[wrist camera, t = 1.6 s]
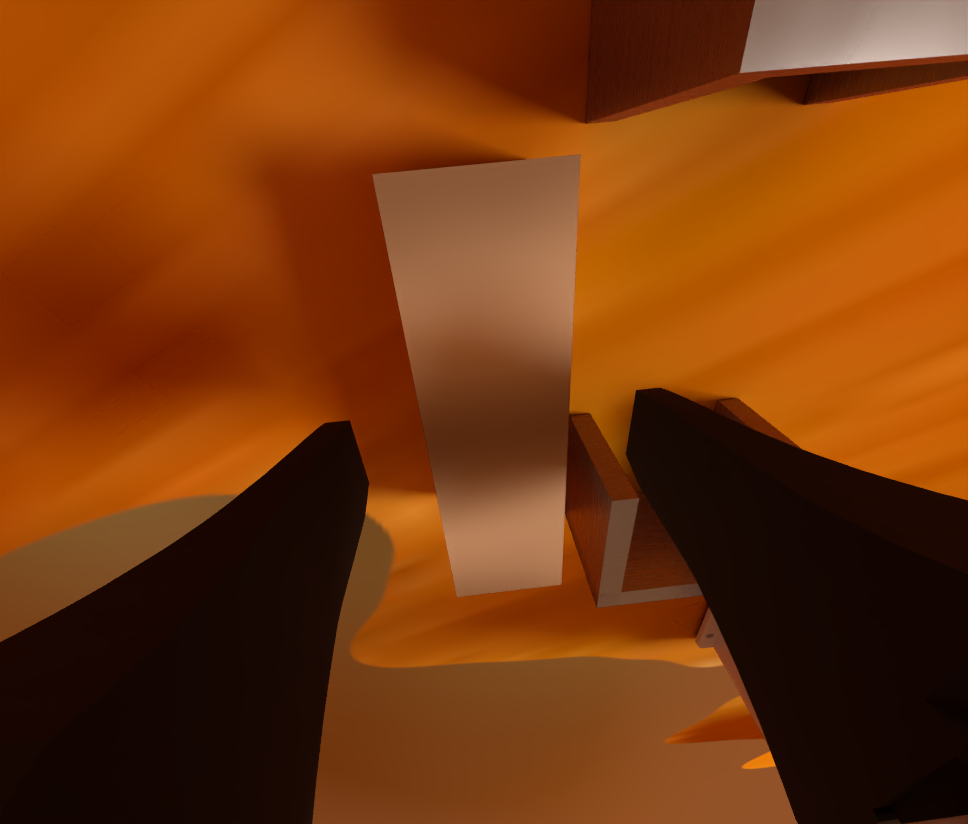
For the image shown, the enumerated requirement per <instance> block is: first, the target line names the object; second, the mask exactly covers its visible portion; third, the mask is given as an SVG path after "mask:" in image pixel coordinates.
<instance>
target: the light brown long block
mask: <svg viewBox="0 0 968 824" xmlns="http://www.w3.org/2000/svg"><path fill="white" fill-rule="evenodd" d="M579 174H580V154H579V155H568V156H558V157H547V158H537V159H527V160H516V161H506V162H495V163H485V164H474V165H464V166H453V167H443V168H432V169H422V170H412V171H401V172H391V173H380V174H372V176H373V181H374V186H375V191H376V196H377V201H378V206H379V211H380V216H381V221H382V226H383V231H384V236H385V241H386V246H387V251H388V256H389V261H390V266H391V271H392V276H393V281H394V286H395V291H396V296H397V301H398V306H399V311H400V316H401V321H402V326H403V331H404V336H405V341H406V345H407V350H408V355H409V360H410V365H411V370H412V375H413V380H414V385H415V390H416V395H417V400H418V405H419V410H420V415H421V420H422V425H423V430H424V435H425V440H426V445H427V450H428V455H429V460H430V465H431V470H432V475H433V480H434V485H435V490H436V495H437V500H438V505H439V510H440V515H441V520H442V525H443V530H444V535H445V540H446V545H447V550H448V555H449V560H450V565H451V569H452V574H453V579H454V584H455V589H456V594H457V597H462V596H470V595H479V594H487V593H496V592H504V591H512V590H521V589H529V588H538V587H546V586H554V585H561V584H562V561H563V539H564V516H565V493H566V470H567V447H568V425H569V402H570V379H571V356H572V333H573V311H574V288H575V265H576V242H577V220H578V197H579Z"/></svg>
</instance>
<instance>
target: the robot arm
mask: <svg viewBox="0 0 968 824" xmlns="http://www.w3.org/2000/svg"><path fill="white" fill-rule="evenodd" d="M626 455H627V458H628V460H629V463H630V465H631V467H632V470H633V472H634V475H635V477H636V479H637V481H638V483H639V486H640V488H641V489H642V491H643V493H644V495H645V496H646V498H647V500H648V501H649V503H650V505H651V506H652V508H653V509H654V511H655V513H656V514H657V516H658V518H659V519H660V521H661V523H662V524H663V526H664V527H665V529H666V531H667V532H668V534H669V536H670V537H671V539H672V540H673V542H674V544H675V545H676V547H677V549H678V550H679V552H680V553H681V555H682V557H683V558H684V560H685V562H686V563H687V565H688V567H689V569H690V570H691V572H692V574H693V576H694V578H695V579H696V581H697V583H698V586H699V588H700V590H701V592H702V594H703V596H704V598H705V600H706V602H707V604H708V606H709V608H708V610H707V613H706V615H705V618H704V620H703V623H702V625H701V627H700V630H699V632H698V635H697V637H696V640H695V641H696V643H697V645H698V646H699V647H700V648H709V647H714V649H715V650H716V652H717V654H718V656H719V658H720V659H721V661H722V663H723V665H724V667H725V668H726V670H727V672H728V674H729V675H730V677H731V679H732V681H733V683H734V685H735V686H736V688H737V690H738V692H739V694H740V695H741V697H742V699H743V701H744V703H745V705H746V706H747V708H748V710H749V712H750V714H751V715H752V717H753V719H754V721H755V723H756V724H757V726H758V728H759V730H760V732H761V733H762V735H763V737H764V739H765V741H766V742H767V744H768V746H769V749H770V751H771V754H772V757H773V759H774V762H775V764H776V767H777V770H778V772H779V775H780V777H781V780H782V783H783V785H784V788H785V791H786V794H787V797H788V799H789V802H790V805H791V808H792V810H793V813H794V816H795V819H796V821H797V823H798V824H968V500H964V499H961V498H957V497H953V496H949V495H945V494H941V493H937V492H934V491H930V490H927V489H923V488H920V487H916V486H913V485H909V484H906V483H902V482H899V481H895V480H892V479H888V478H885V477H882V476H878V475H875V474H872V473H869V472H865V471H862V470H859V469H856V468H853V467H850V466H848V465H845V464H842V463H839V462H836V461H833V460H830V459H827V458H824V457H821V456H819V455H816V454H813V453H810V452H808V451H805V450H802V449H800V448H797V447H795V446H792V445H790V444H787V443H785V442H783V441H780V440H778V439H775V438H773V437H770V436H768V435H766V434H763V433H761V432H759V431H756V430H754V429H752V428H749V427H747V426H745V425H743V424H740V423H738V422H736V421H734V420H732V419H730V418H727V417H725V416H723V415H721V414H719V413H717V412H714V411H712V410H710V409H708V408H706V407H704V406H702V405H700V404H697V403H695V402H693V401H691V400H689V399H687V398H684V397H682V396H680V395H678V394H675V393H673V392H670V391H668V390H665V389H662V388H652V389H643V390H636V394H635V400H634V406H633V413H632V419H631V425H630V432H629V438H628V444H627V451H626ZM368 487H369V481H368V478H367V474H366V471H365V468H364V465H363V462H362V458H361V455H360V452H359V449H358V446H357V443H356V439H355V436H354V433H353V430H352V427H351V423H350V420H349V421H339V422H330V423H324V424H323V425H322V426H320V427H319V428H318V429H316V430H315V431H314V432H313V433H312V434H310V435H309V436H308V437H307V438H306V439H305V440H304V441H302V442H301V443H300V444H299V445H298V446H297V447H296V448H294V449H293V450H292V451H291V452H290V453H289V454H288V455H286V456H285V457H284V458H283V459H282V460H281V461H280V462H278V463H277V464H276V465H275V466H274V467H273V468H271V469H270V470H269V471H268V472H267V473H266V474H265V475H263V476H262V477H261V478H260V479H258V480H257V481H256V482H255V483H253V484H252V485H251V486H250V487H248V488H247V489H246V490H245V491H243V492H242V493H241V494H240V495H238V496H237V497H236V498H235V499H234V500H232V501H231V502H230V503H229V504H227V505H226V506H225V507H223V508H222V509H221V510H219V511H218V512H217V513H215V514H214V515H213V516H211V517H210V518H209V519H207V520H206V521H204V522H203V523H202V524H200V525H199V526H197V527H196V528H194V529H193V530H191V531H190V532H189V533H187V534H186V535H184V536H183V537H181V538H180V539H178V540H177V541H176V542H174V543H172V544H171V545H169V546H168V547H166V548H165V549H163V550H162V551H160V552H158V553H157V554H155V555H154V556H152V557H150V558H149V559H147V560H145V561H144V562H142V563H140V564H139V565H137V566H136V567H134V568H132V569H131V570H129V571H128V572H126V573H124V574H123V575H121V576H119V577H118V578H116V579H114V580H113V581H111V582H110V583H108V584H107V585H105V586H103V587H101V588H99V589H98V590H96V591H94V592H92V593H91V594H89V595H87V596H85V597H84V598H82V599H80V600H78V601H76V602H75V603H73V604H71V605H69V606H67V607H66V608H64V609H62V610H60V611H58V612H57V613H55V614H53V615H51V616H49V617H47V618H45V619H43V620H42V621H40V622H38V623H36V624H34V625H32V626H30V627H28V628H27V629H25V630H23V631H21V632H19V633H17V634H16V635H13V636H11V637H10V638H7V639H5V640H4V641H2V642H0V824H312V820H313V808H314V799H315V788H316V778H317V770H318V761H319V752H320V744H321V736H322V727H323V719H324V712H325V704H326V697H327V690H328V683H329V676H330V669H331V662H332V656H333V650H334V644H335V638H336V631H337V625H338V620H339V615H340V611H341V607H342V602H343V598H344V595H345V591H346V587H347V583H348V579H349V576H350V572H351V568H352V565H353V561H354V557H355V554H356V550H357V546H358V542H359V538H360V535H361V531H362V527H363V522H364V519H365V512H366V504H367V496H368Z"/></svg>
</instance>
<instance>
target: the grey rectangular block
mask: <svg viewBox="0 0 968 824" xmlns="http://www.w3.org/2000/svg"><path fill="white" fill-rule="evenodd" d="M803 74H813V75H812V78H811V82H810V85H809V88H808V92H807V95H806V99H805V102H804V105H810V104H822V103H833V102H839V101H845V100H851V99H857V98H862V97H868V96H874V95H880V94H886V93H891V92H897V91H903V90H909V89H915V88H920V87H926V86H932V85H938V84H944V83H949V82H955V81H961V80H967V79H968V0H592V16H591V35H590V54H589V72H588V91H587V109H586V124H587V123H599V122H611V121H618V120H621V119H625V118H628V117H632V116H635V115H639V114H642V113H646V112H649V111H653V110H656V109H660V108H663V107H667V106H670V105H674V104H677V103H681V102H684V101H688V100H691V99H695V98H698V97H702V96H705V95H709V94H712V93H716V92H719V91H723V90H726V89H730V88H733V87H737V86H740V85H744V84H747V83H751V82H754V81H758V80H761V79H765V78H768V77H779V76H791V75H803Z"/></svg>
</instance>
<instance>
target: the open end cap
mask: <svg viewBox="0 0 968 824" xmlns="http://www.w3.org/2000/svg"><path fill="white" fill-rule="evenodd" d="M715 412H717V413H719V414H721V415H723V416H725V417H727V418H730V419H732V420H734V421H736V422H738V423H740V424H743V425H745V426H747V427H749V428H752V429H754V430H756V431H759V432H761V433H763V434H766V435H768V436H770V437H773V438H775V439H778V440H780V441H783V442H785V443H787V444H790V445H792V446H795V447H797V448H800V447H799V446H797V445H796V444H795V443H794V442H792V441H791V440H790V439H789V438H787V437H786V436H785V435H784V434H782V433H781V432H780V431H779V430H777V429H776V428H775V427H774V426H772V425H771V424H770V423H768V422H767V421H766V420H765V419H763V418H762V417H761V416H760V415H758V414H757V413H756V412H755V411H753V410H752V409H751V408H750V407H748V406H747V405H746V404H745V403H743V402H742V401H741V400H739V399H738V398H736V399H727V400H718V403H717V406H716V409H715ZM800 449H801V448H800ZM802 450H803V449H802ZM565 515H566V518H567V521H568V524H569V527H570V530H571V533H572V536H573V539H574V542H575V545H576V548H577V551H578V554H579V557H580V560H581V563H582V565H583V568H584V571H585V574H586V577H587V580H588V583H589V586H590V589H591V592H592V595H593V598H594V601H595V604H596V607H597V608H600V607H609V606H617V605H626V604H634V603H642V602H651V601H659V600H668V599H676V598H685V597H693V596H702V595H703V594H702V592H701V590H700V588H699V586H698V583H697V581H696V579H695V578H694V576H693V574H692V572H691V570H690V569H689V567H688V565H687V563H686V562H685V560H684V558H683V557H682V555H681V553H680V552H679V550H678V549H677V547H676V545H675V544H674V542H673V540H672V539H671V537H670V536H669V534H668V532H667V531H666V529H665V527H664V526H663V524H662V523H661V521H660V519H659V518H658V516H657V514H656V513H655V511H654V509H653V508H652V506H651V505H650V503H649V501H648V500H647V498H646V496H645V495H644V493H643V492H641V493H636V492H635V490H634V488H633V487H632V485H631V483H630V482H629V480H628V478H627V476H626V475H625V473H624V471H623V469H622V468H621V466H620V464H619V462H618V461H617V459H616V457H615V456H614V454H613V452H612V450H611V449H610V447H609V445H608V443H607V442H606V440H605V438H604V437H603V435H602V433H601V431H600V430H599V428H598V426H597V424H596V423H595V421H594V419H593V418H592V416H591V414H584V415H574V416H570V427H569V445H568V464H567V483H566V501H565Z"/></svg>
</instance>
